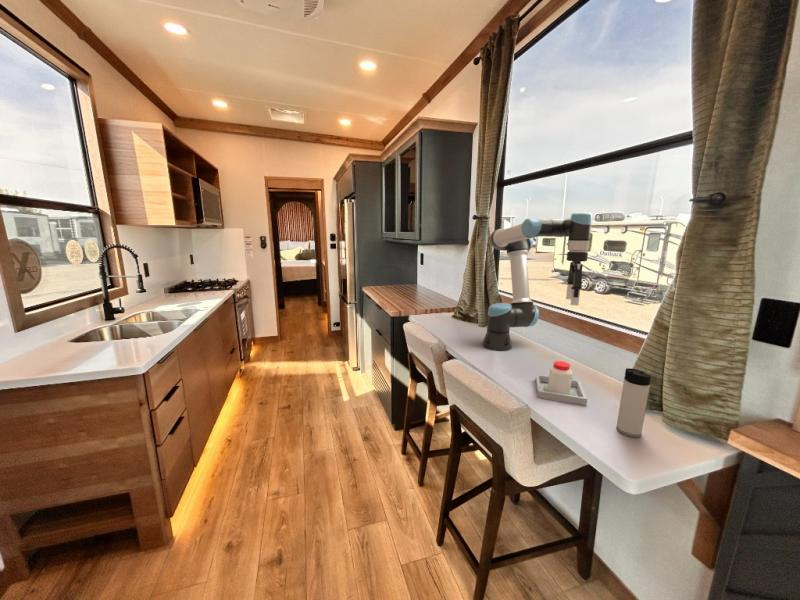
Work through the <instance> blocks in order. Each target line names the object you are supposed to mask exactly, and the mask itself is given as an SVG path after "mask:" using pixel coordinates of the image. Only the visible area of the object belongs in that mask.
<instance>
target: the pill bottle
mask: <svg viewBox="0 0 800 600" xmlns="http://www.w3.org/2000/svg"><path fill="white" fill-rule="evenodd" d="M548 376H549V383H548V384H547V385H548V390H549V391H550V392H553V393H560V394H566V395H569V394H570V390H571V389H572V386H571V382H572V379H573V371H572V369H571V365H570V363H568V362H566V361H562V360H557V361H553V365H552V366H551V367H550V368H549V373H548Z"/></svg>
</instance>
